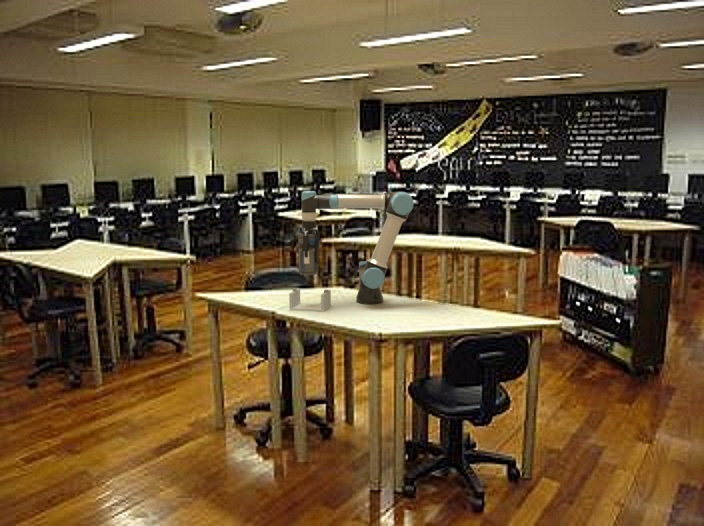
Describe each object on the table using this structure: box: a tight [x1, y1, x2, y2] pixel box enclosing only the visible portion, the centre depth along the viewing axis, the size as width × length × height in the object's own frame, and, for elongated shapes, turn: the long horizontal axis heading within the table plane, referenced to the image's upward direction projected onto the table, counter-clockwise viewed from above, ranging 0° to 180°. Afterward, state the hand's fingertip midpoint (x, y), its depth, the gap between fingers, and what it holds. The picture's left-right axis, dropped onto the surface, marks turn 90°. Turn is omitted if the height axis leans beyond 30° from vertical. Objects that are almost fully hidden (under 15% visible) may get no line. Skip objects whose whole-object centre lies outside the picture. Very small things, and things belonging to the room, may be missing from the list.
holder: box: [288, 287, 332, 313], centre depth 335 cm, size 19×14×10 cm
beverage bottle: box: [297, 226, 321, 277], centre depth 331 cm, size 10×13×25 cm
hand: (309, 262), depth 332 cm, fingers closed on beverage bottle, 10 cm apart
